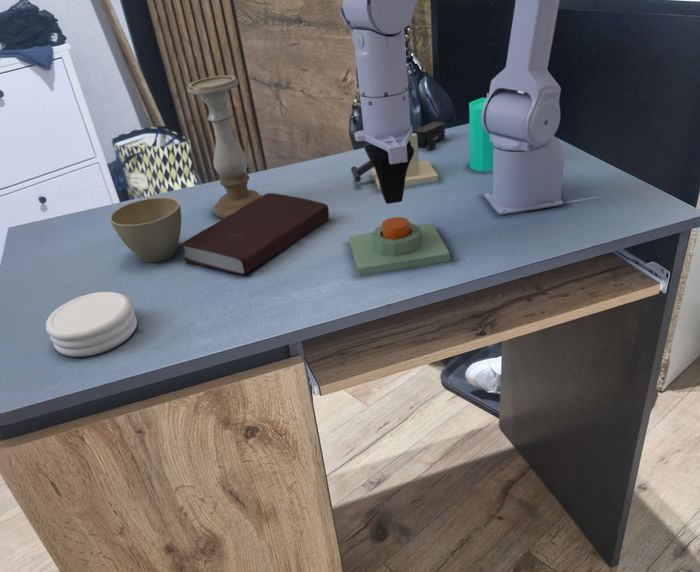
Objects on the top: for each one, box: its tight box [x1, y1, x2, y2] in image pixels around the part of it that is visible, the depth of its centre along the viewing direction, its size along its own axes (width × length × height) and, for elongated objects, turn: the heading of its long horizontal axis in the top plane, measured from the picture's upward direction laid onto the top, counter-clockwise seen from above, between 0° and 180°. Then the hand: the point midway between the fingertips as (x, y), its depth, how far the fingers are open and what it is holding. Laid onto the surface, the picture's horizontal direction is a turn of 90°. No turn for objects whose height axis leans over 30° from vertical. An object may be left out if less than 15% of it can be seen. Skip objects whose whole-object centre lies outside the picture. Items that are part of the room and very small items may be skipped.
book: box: [180, 192, 330, 276], centre depth 95 cm, size 12×19×3 cm, turn 145°
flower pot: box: [109, 196, 182, 263], centre depth 94 cm, size 10×10×7 cm
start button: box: [381, 216, 410, 239], centre depth 85 cm, size 4×4×2 cm
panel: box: [348, 222, 451, 277], centre depth 86 cm, size 12×10×3 cm
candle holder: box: [186, 74, 263, 219], centre depth 101 cm, size 9×9×20 cm
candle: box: [468, 92, 493, 172], centre depth 106 cm, size 6×6×12 cm
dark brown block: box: [413, 121, 446, 151], centre depth 121 cm, size 5×7×3 cm, turn 134°
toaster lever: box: [350, 159, 375, 183], centre depth 107 cm, size 11×5×2 cm, turn 97°
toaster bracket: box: [371, 132, 439, 191], centre depth 107 cm, size 10×8×8 cm
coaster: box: [45, 291, 138, 358], centre depth 78 cm, size 10×10×4 cm
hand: (393, 200), depth 83 cm, fingers closed
